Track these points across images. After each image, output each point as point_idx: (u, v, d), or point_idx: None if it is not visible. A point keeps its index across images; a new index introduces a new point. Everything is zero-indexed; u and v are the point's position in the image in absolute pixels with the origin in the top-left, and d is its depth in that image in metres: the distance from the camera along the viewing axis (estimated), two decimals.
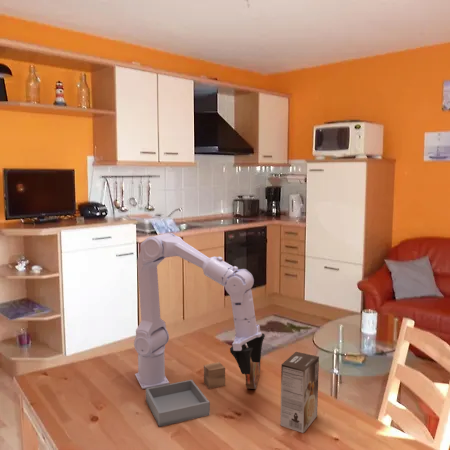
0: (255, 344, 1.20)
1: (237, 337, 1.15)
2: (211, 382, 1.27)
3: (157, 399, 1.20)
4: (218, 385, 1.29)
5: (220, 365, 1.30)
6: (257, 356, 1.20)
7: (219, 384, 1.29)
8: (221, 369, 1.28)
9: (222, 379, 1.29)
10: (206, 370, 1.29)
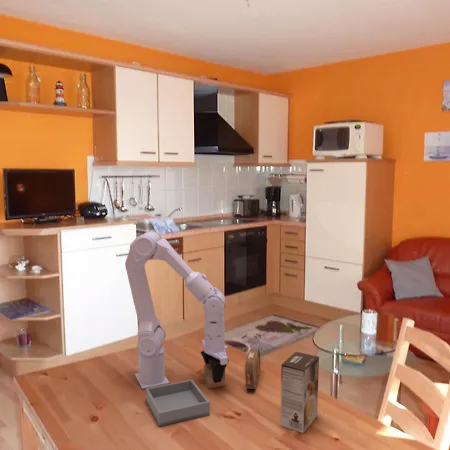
0: (213, 359, 1.32)
1: (213, 353, 1.26)
2: (211, 382, 1.27)
3: (157, 399, 1.20)
4: (218, 385, 1.29)
5: None
6: None
7: (219, 384, 1.29)
8: None
9: (222, 378, 1.29)
10: (206, 370, 1.29)
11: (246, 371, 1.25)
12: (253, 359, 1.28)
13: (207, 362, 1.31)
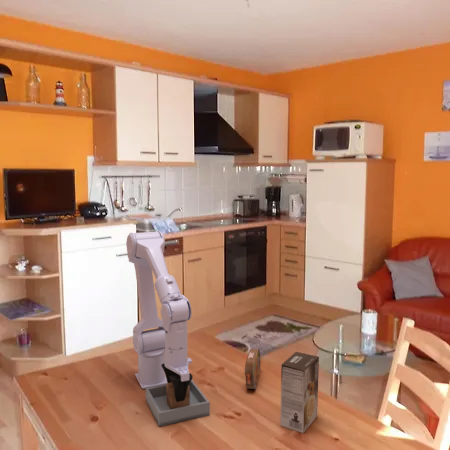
0: (175, 372, 1.19)
1: (173, 367, 1.13)
2: (173, 403, 1.15)
3: (157, 399, 1.20)
4: (182, 406, 1.16)
5: None
6: None
7: (183, 405, 1.16)
8: None
9: (186, 399, 1.16)
10: (168, 389, 1.16)
11: (246, 371, 1.25)
12: (253, 359, 1.28)
13: (168, 376, 1.18)
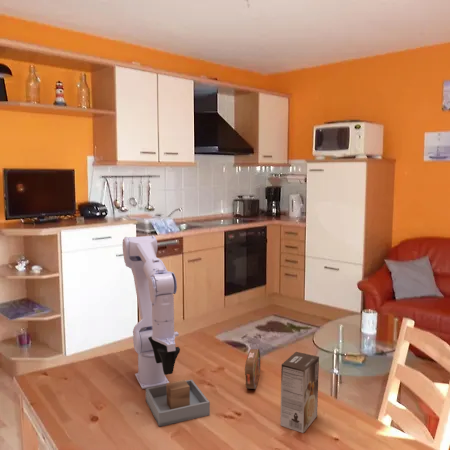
0: (161, 345, 1.22)
1: (160, 339, 1.15)
2: (173, 403, 1.15)
3: (157, 399, 1.20)
4: (182, 406, 1.16)
5: (184, 383, 1.17)
6: None
7: (183, 405, 1.16)
8: (185, 388, 1.16)
9: (186, 399, 1.16)
10: (168, 389, 1.16)
11: (246, 371, 1.25)
12: (253, 359, 1.28)
13: (155, 348, 1.22)
